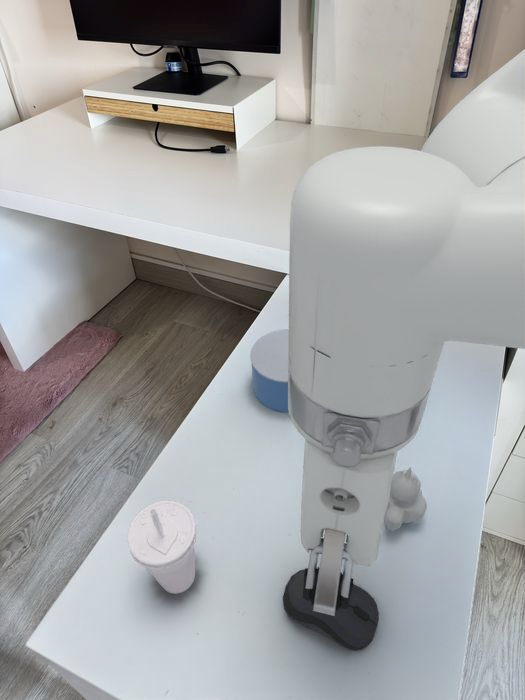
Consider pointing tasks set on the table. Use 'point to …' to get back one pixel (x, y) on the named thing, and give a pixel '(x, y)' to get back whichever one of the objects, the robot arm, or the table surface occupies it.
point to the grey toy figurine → (405, 500)
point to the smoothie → (165, 544)
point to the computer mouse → (345, 626)
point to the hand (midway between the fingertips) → (334, 537)
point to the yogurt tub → (271, 369)
